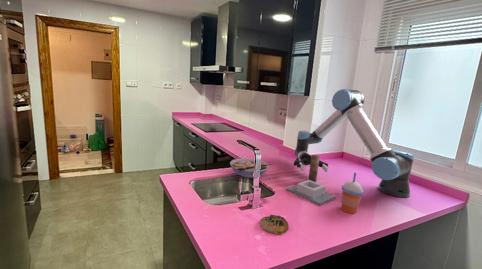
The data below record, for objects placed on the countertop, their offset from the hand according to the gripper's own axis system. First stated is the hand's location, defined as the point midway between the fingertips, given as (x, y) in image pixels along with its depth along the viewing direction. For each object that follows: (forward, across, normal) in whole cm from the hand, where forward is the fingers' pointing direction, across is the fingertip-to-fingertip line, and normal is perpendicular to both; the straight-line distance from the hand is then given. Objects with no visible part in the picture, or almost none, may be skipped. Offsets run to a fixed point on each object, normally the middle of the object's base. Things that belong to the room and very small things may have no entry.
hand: (314, 169), depth 141 cm
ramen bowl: (-7, +36, -9) cm, 38 cm away
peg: (-2, 0, -9) cm, 9 cm away
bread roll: (+46, +29, -9) cm, 55 cm away
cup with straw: (+29, -8, -9) cm, 31 cm away
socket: (+14, +6, -9) cm, 18 cm away
